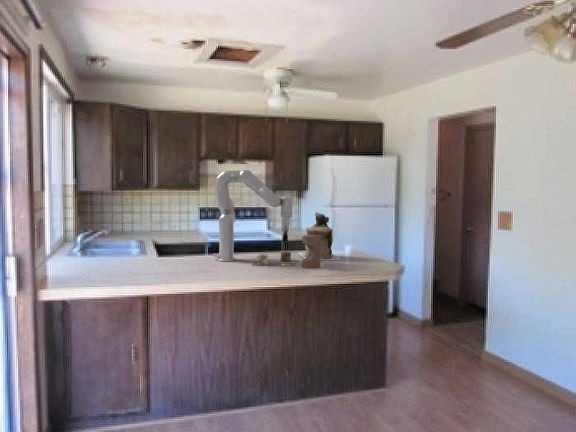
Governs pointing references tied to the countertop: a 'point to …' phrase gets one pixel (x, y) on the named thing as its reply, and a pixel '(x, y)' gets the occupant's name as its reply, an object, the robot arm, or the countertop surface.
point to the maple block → (262, 259)
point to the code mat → (276, 264)
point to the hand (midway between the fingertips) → (285, 240)
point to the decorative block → (312, 251)
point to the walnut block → (285, 256)
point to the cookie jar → (322, 238)
